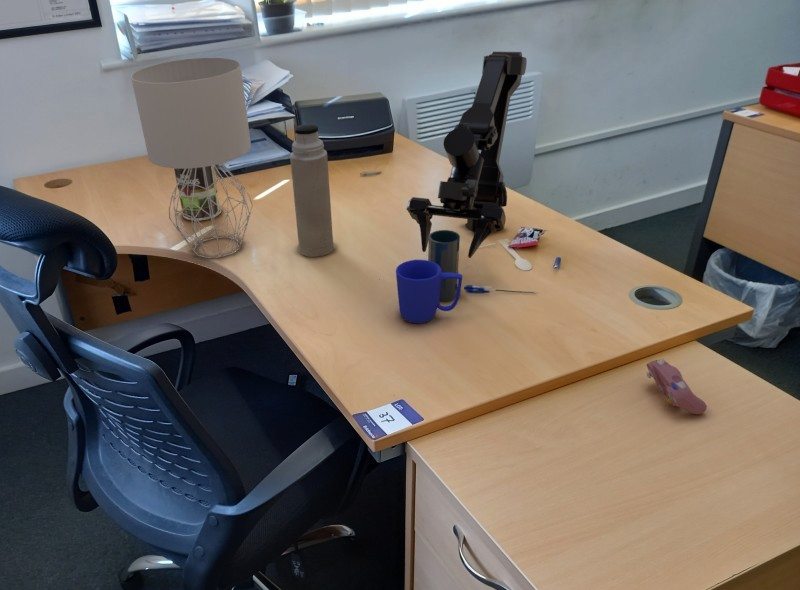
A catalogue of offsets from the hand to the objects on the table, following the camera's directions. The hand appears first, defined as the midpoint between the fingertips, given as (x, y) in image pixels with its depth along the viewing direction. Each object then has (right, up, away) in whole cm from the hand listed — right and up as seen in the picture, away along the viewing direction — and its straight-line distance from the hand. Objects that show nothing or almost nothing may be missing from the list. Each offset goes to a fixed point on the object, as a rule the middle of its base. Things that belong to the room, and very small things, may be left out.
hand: (446, 254), depth 134 cm
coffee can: (-56, +18, +47) cm, 75 cm away
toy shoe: (+30, -27, -28) cm, 49 cm away
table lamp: (-49, +6, +29) cm, 57 cm away
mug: (-4, -13, -3) cm, 14 cm away
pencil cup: (0, -8, +3) cm, 8 cm away
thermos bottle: (-26, +5, +24) cm, 36 cm away
